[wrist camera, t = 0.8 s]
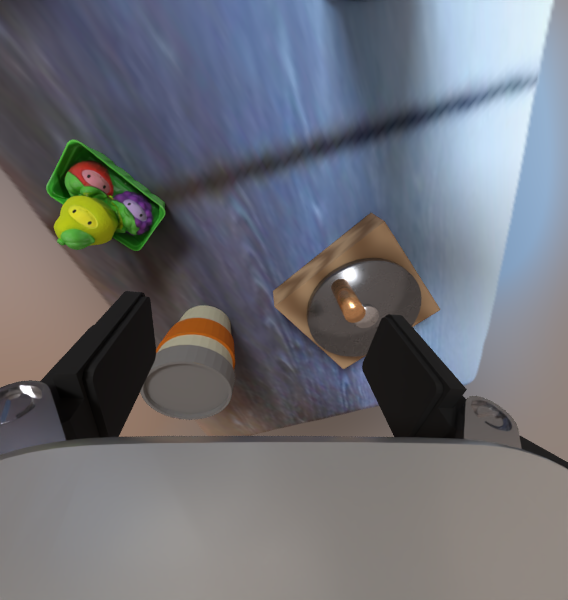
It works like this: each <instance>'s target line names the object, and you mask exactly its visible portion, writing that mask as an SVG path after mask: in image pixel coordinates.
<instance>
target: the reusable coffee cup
mask: <svg viewBox="0 0 568 600" xmlns="http://www.w3.org/2000/svg"><path fill="white" fill-rule="evenodd" d="M234 367H235V353H234V340H233V337H232V335H231V325H230V321H229V319H228V317H227V316H226V315H225V313H223V312H222V311H221V310H219V309H217V308H215V307H211V306H196V307H193V308H191V309H189V310H188V311H187V312H186V313H185V314H184V315H183V316H182V318H181V319H180V321H179V322H178V323H176V324H175V325H174V326H173V327H172V328H171V329H170V330H169V332H168V333H167V335H166V336H165V337H164V339H163V340H162V341H161V343H160V344H159V346H158V347H157V349H156V358H155V361H154V364H153V366H152V368H151V370H150V372H149V374H148V376H147V378H146V380H145V382H144V384H143V387H142V389H141V391H140V392H141V395H142V398H143V399H144V400H145V402H146V403H147V404H148V405H149V406H150V407H151V408H153V409H154V410H156V411H157V412H159V413H161V414H164V415H166V416H170V417H172V418H178V419H188V420H192V419H202V418H207V417H210V416H213V415H215V414H217V413H219V412H220V411H222V410H223V409H224V408H225V407H226V406H227V405H228V403H229V402H230V400H231V396H232V391H233V387H234V383H235V372H234Z"/></svg>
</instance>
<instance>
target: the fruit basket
mask: <svg viewBox="0 0 568 600" xmlns="http://www.w3.org/2000/svg"><path fill="white" fill-rule="evenodd" d="M46 189H47V192H48V194H49V195H50V196H51V197H52V198H54V199H55V200H57V201H58V202H60V203H61V204H63V206H62V209H61V212H60V217H59V218H58V219H57V220H56V222H55V225H54V230H55V232H56V235H57V236H58V238H59V239H58V240H57V242H58V243H59V244H60V245H65V244H66V245H67V246H68V247H70V248H72V249H76V250H79V249H83V248H85V247H87V246H90V245H99V244H103V243H106V242H108V241H110V240H111V239H112V237H113V238H114V239H116V240H117V241H119V242H120V243H122V244H123V245H125V246H127V247H128V248H130V249H131V250H134V251H139V250H141V249H142V247H143V246H144V244H145V243H146V241H147V240H148V239H149V237H150V236H151V234H152V233H153V232H154V230H155V229H156V227H157V226H158V225H159V223H160V222H161V221H162V219H163V218H164V216H165V202H164V201H162V200H161V199H160V198H159V197H157V196H156V195H154V194H151V192H150V191H149V190H148V189H147V188H146V187H145V186H143V185H142V184H141V183H139V182H137V181H135V180H134V179H133V178H132V176H131V175H129V174H128V173H127V172H125V171H124V170H123V169H122V168H120V167H118V166H116V165H115V164H114V163H113V161H111V160H110V159H109V158H108V157H106V156H105V155H104V154H102V153H100V152H98V151H95V150H93V149H91V148H89V147H87V146H86V145H85V144H83V143H81V142H79V141H77V140H70V141H69V142H68V143H67V145H66V147H65V149H64V151H63V154H62V156H61V158H60V160H59V162H58V164H57V166H56V168H55V170H54V172H53V174H52V176H51V178H50V180H49V182H48V184H47V186H46Z"/></svg>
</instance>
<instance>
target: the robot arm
mask: <svg viewBox="0 0 568 600" xmlns="http://www.w3.org/2000/svg"><path fill="white" fill-rule="evenodd" d="M155 358H156V346H155V337H154V328H153V320H152V311H151V302H150V298H149V297H145V294H144V293H142V292H130V291H126V292H124V293H123V294H122V295H121V296H120V298H119V299H118V300H117V301H116V302H115V303H114V304H113V305H112V306H111V307H110V308H109V310H108V311H107V312H106V313H105V314H104V315H103V316H102V317H101V318H100V319H99V320H98V322H97V323H96V324H95V325H93V326H92V327H90V328H89V329H88V330H87V331H86V332H85V334H84V335H83V336H82V337H81V338H80V339H79V340H78V341H77V342H76V343H75V344H74V345H73V347H72V348H71V349H70V350H69V351H68V352H67V353H66V354H65V355H64V356H63V357H62V358H61V359H60V361H59V362H58V363H57V364H56V365H55V366H54V367H53V368H52V369H51V370H50V371H49V372H48V373H47V375H46V376H45V377H44V378H43V379H42V380H41V381H21V382H16V383H12V384H8V385H6V386H3V387H1V388H0V600H568V462H566V461H564V460H563V459H561V458H559V457H557V456H555V455H554V454H552V453H550V452H548V451H547V450H545V449H543V448H541V447H539V446H538V445H535V444H534V443H532V442H530V441H529V440H527V439H525V438H523V437H521V436H519V431H518V427H517V424H516V422H515V421H514V420H513V418H512V417H511V416H510V415H509V414H508V413H507V412H506V411H505V410H504V409H502V408H501V407H500V406H498V405H497V404H495V403H493V402H492V401H490V400H487V399H485V398H482V397H478V396H470V397H469V398H467V399H465V398H464V397H463V394H464V392H465V391H466V388H465V387H464V386H463V385H462V384H461V382H460V381H459V380H458V379H457V378H456V377H455V376H454V374H453V373H452V372H451V371H450V370H449V369H448V367H447V366H446V365H445V364H444V363H443V362H442V361H441V359H440V358H439V357H438V356H437V355H436V354H435V353H434V351H433V350H432V349H431V348H430V347H429V346H428V345H427V343H426V342H425V341H424V340H423V339H422V338H421V336H420V335H419V334H418V333H417V332H416V331H415V330H414V328H413V327H412V326H411V325H410V324H409V323H408V322H407V320H406V319H405V318H404V317H403V316H402V315H392V314H388V315H386V316H385V317H383V318H382V319H381V321H380V323H379V326H378V328H377V330H376V333H375V335H374V338H373V340H372V342H371V345H370V347H369V350H368V352H367V354H366V357H365V359H364V362H363V365H362V369H363V372H364V374H365V376H366V379H367V381H368V383H369V385H370V387H371V389H372V391H373V393H374V395H375V397H376V399H377V402H378V404H379V406H380V408H381V410H382V412H383V414H384V416H385V418H386V420H387V422H388V425H389V427H390V429H391V431H392V433H393V435H394V437H330V436H329V437H328V436H327V437H326V436H325V437H324V436H323V437H322V436H145V437H119V435H120V433H121V430H122V428H123V426H124V424H125V422H126V420H127V418H128V416H129V414H130V412H131V410H132V407H133V405H134V403H135V401H136V399H137V397H138V395H139V393H140V391H141V389H142V387H143V384H144V382H145V380H146V378H147V376H148V374H149V372H150V370H151V368H152V366H153V364H154V361H155Z"/></svg>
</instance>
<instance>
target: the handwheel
mask: <svg viewBox="0 0 568 600" xmlns="http://www.w3.org/2000/svg"><path fill="white" fill-rule="evenodd" d="M421 298H422V297H421V291H420V287H419V285H418V283H417V281H416V279H415V278H414V277H413V276H412V275H411V274H410V273H409V272H408V271H407V270H406V269H405V268H403V267H402V266H401V265H399V264H397V263H395V262H393V261H391V260H387V259H382V258H364V259H358V260H355V261H351V262H349V263H346V264H344V265H342V266H340V267H338V268H336V269H335V270H333V271H332V272H330V273H329V274H328V275H327V276H325V277H324V278H323V279H322V280H321V281H320V282H319V284H318V285H317V286H316V288H315V289H314V291H313V293H312V294H311V296H310V299H309V302H308V306H307V314H306V315H307V322H308V326H309V330H310V333H311V335H312V337H313V338H314V340H315V341H316V342H317V344H318V345H319V346H321V347H322V348H323V349H325V350H327V351H328V352H331V353H333V354H336V355H340V356H347V357H357V356H365V355H366V354H367V352H368V350H369V347H370V345H371V342H372V340H373V338H374V335H375V333H376V330H377V328H378V326H379V323H380V321H381V319H382V318H383V317H385V316H386V315H388V314H392V315H402V316H403V317H404V318H405V319H406V320H407V322H408V323H409V324H410V325H411V326H412V325H413V324H414V322H415V321H416V319H417V317H418V314H419V311H420V308H421Z"/></svg>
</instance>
